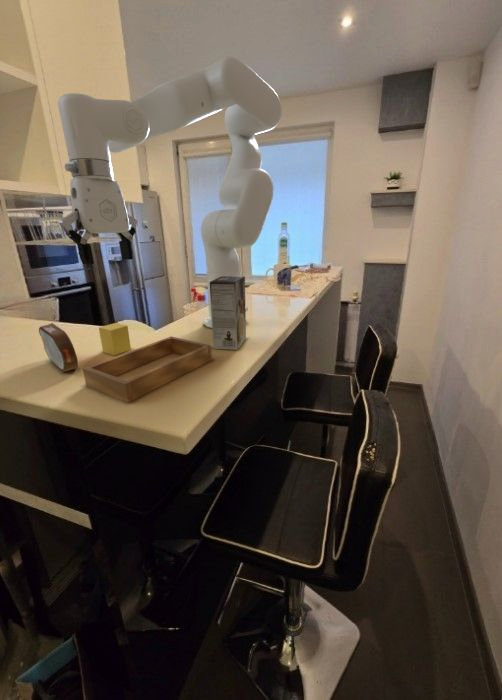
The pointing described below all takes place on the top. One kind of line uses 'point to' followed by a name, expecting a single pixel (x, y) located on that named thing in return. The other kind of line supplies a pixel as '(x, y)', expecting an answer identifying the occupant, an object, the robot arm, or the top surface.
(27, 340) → the top surface
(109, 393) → the wooden tray
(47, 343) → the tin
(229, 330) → the coffee box
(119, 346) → the block
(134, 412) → the top surface
